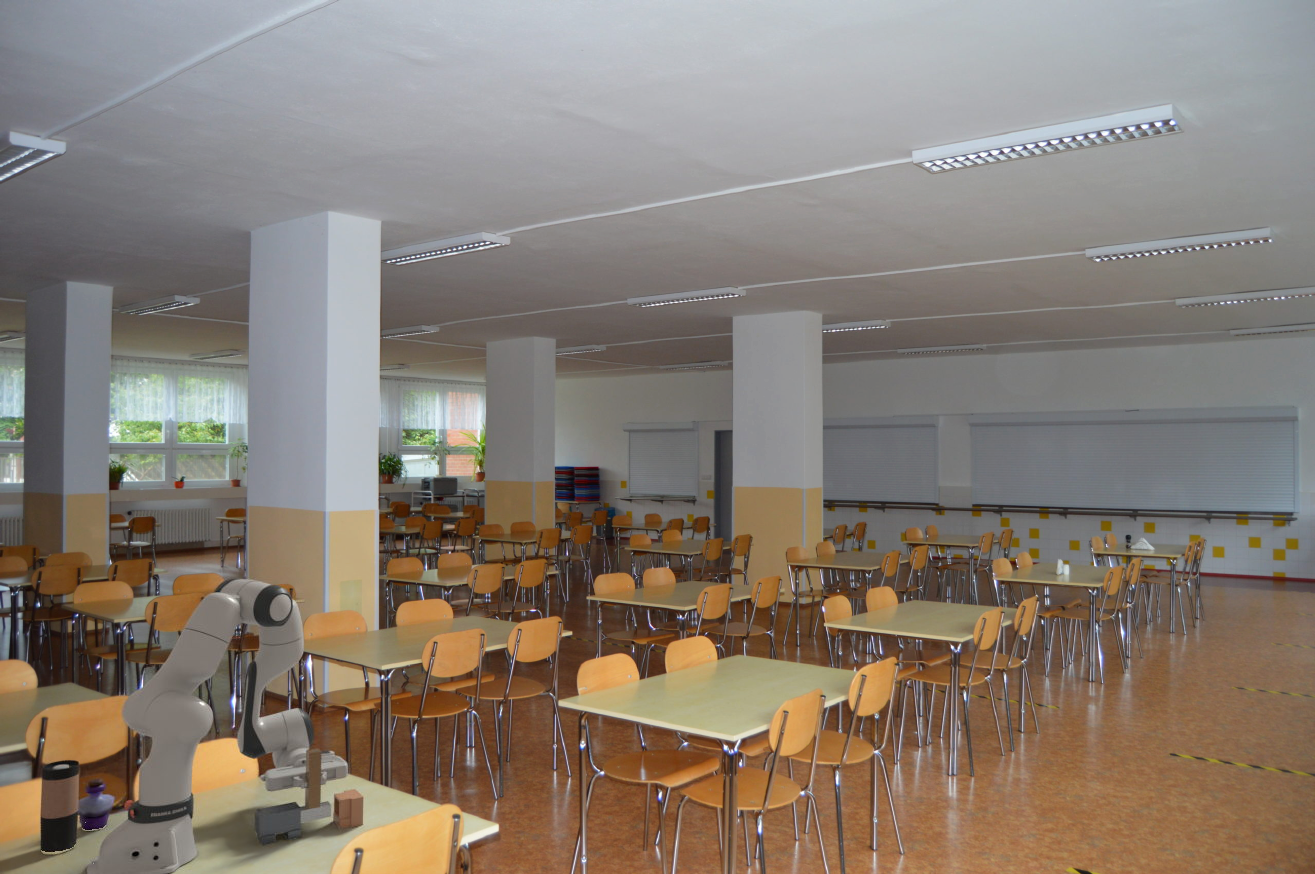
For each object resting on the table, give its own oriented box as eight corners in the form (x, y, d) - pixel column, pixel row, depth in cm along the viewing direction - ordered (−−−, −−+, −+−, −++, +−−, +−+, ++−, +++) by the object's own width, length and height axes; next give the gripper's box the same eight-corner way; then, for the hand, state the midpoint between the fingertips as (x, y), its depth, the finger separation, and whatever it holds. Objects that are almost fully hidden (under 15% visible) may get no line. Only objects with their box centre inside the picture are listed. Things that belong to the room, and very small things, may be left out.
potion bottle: (113, 818, 239) (114, 772, 239) (114, 829, 232) (116, 781, 232) (74, 825, 235) (75, 777, 235) (74, 837, 227) (75, 788, 228)
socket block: (340, 829, 234) (341, 801, 234) (332, 820, 239) (333, 792, 240) (362, 824, 237) (363, 796, 237) (354, 815, 243) (355, 788, 243)
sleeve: (259, 846, 223) (260, 816, 223) (254, 837, 228) (254, 808, 228) (300, 837, 229) (301, 808, 229) (294, 829, 233) (295, 801, 234)
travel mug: (31, 852, 218) (33, 768, 218) (60, 840, 225) (63, 758, 226) (56, 857, 216) (58, 771, 216) (85, 844, 223) (87, 761, 224)
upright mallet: (270, 829, 226) (272, 759, 226) (268, 825, 228) (269, 756, 229) (331, 816, 234) (332, 749, 235) (327, 812, 237) (329, 746, 237)
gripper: (258, 763, 238) (271, 778, 227) (339, 749, 250) (354, 763, 239) (258, 787, 238) (270, 804, 227) (338, 772, 250) (353, 788, 238)
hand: (314, 783), depth 233 cm, fingers closed on upright mallet, 3 cm apart
